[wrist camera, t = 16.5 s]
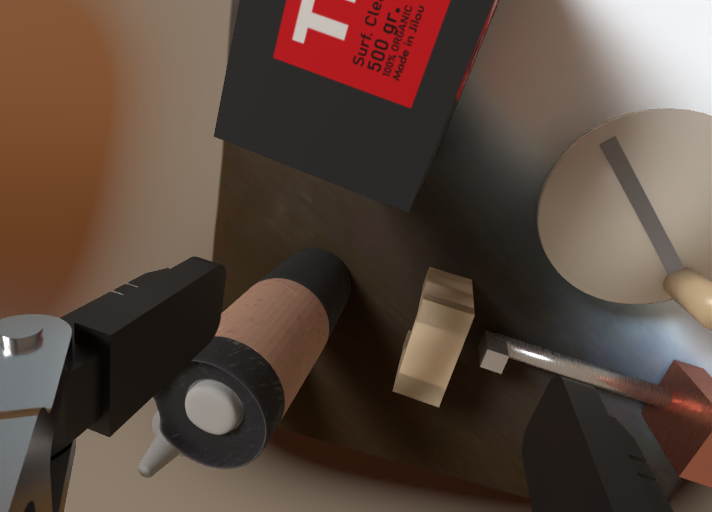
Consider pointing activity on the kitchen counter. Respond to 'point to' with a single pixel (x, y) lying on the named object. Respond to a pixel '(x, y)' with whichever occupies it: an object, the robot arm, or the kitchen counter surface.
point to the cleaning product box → (350, 86)
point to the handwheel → (635, 211)
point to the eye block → (435, 337)
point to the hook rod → (664, 401)
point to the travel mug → (254, 362)
